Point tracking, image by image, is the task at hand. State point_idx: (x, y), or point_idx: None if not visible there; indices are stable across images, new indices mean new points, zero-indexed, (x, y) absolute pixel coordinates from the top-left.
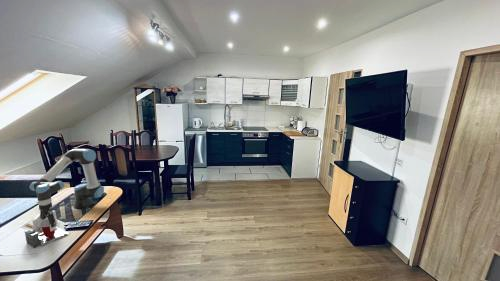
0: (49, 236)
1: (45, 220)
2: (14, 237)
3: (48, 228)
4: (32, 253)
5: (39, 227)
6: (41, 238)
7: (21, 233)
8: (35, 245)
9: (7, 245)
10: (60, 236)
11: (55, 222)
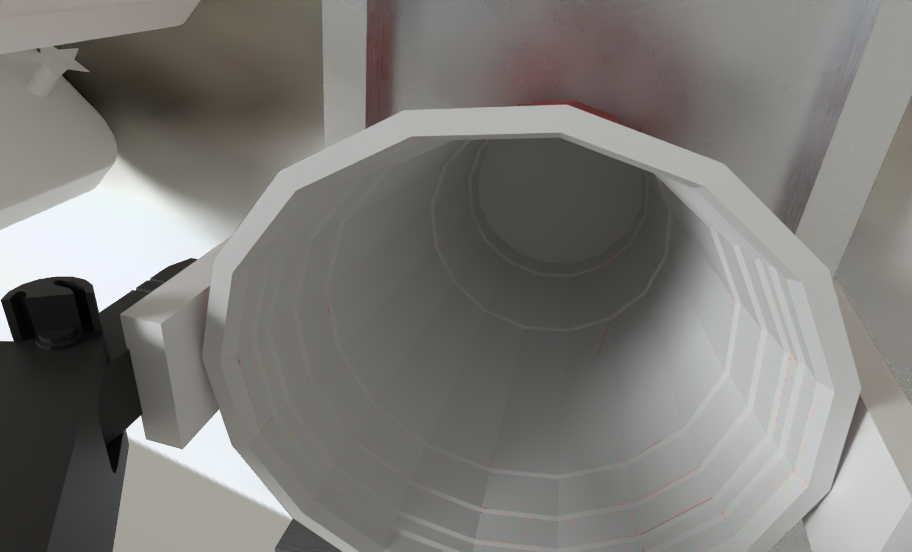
0: (627, 242)
1: (235, 349)
2: None
3: (691, 421)
4: (780, 548)
5: (52, 89)
6: None
7: (26, 257)
8: None
9: (235, 471)
10: (884, 131)
11: (843, 325)
